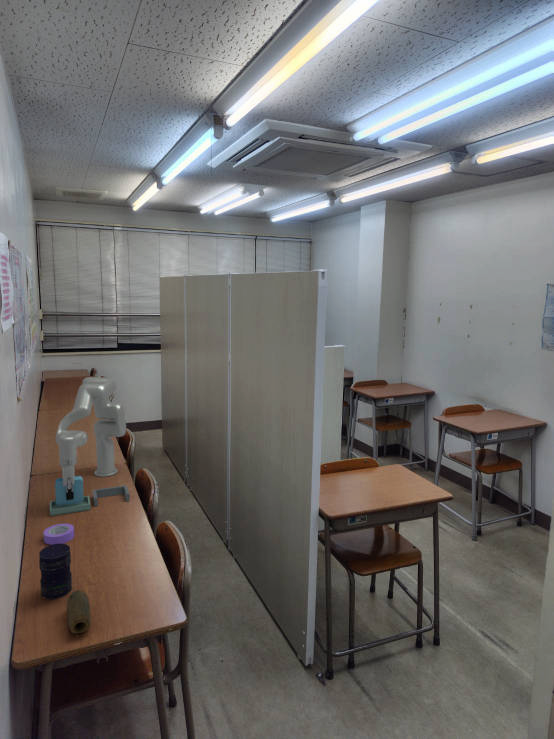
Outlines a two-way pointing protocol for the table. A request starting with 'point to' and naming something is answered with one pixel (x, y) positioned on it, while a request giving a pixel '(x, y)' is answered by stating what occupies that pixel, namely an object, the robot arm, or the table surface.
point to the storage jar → (55, 571)
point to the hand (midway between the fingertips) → (69, 496)
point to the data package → (62, 491)
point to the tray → (70, 507)
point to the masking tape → (59, 534)
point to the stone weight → (78, 612)
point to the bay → (110, 493)
